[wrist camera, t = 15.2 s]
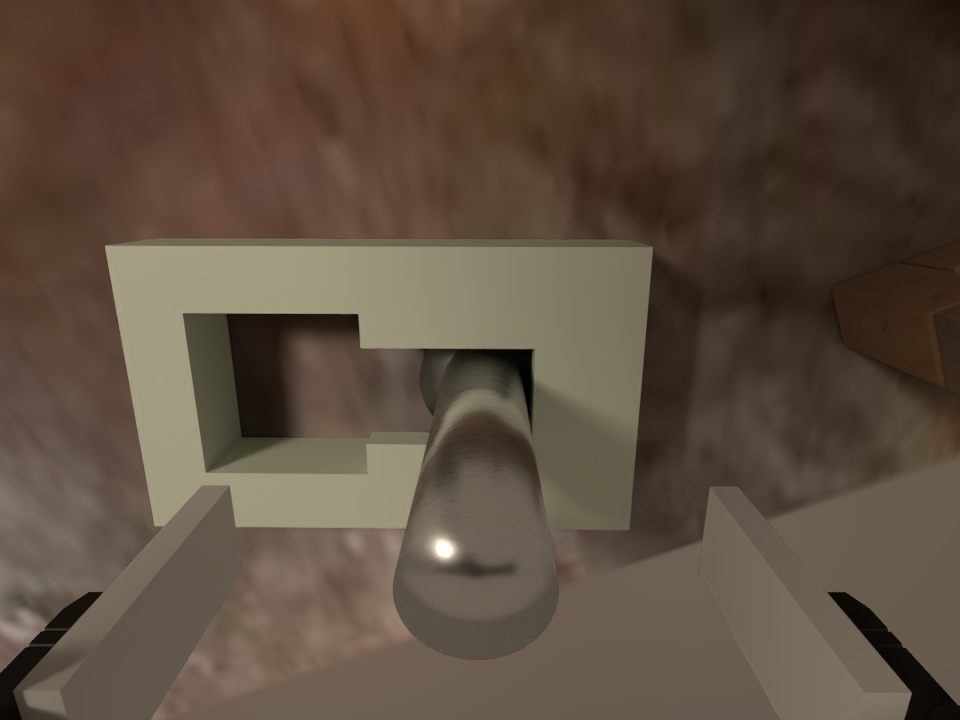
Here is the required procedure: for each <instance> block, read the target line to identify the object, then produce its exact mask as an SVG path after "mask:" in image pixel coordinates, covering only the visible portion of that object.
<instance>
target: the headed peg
mask: <svg viewBox="0 0 960 720" xmlns="http://www.w3.org/2000/svg"><path fill="white" fill-rule="evenodd" d="M531 374H532V349H429V348H428V349H427V351H426V354H425V356H424V359H423V362H422V365H421V371H420V388H421V392H422V396H423V399H424V402H425V404H426V406H427V408H428V409H429V411H430V412H431V414H432V415H433V420H432V424H431V428H430V432H429V436H428V440H427V444H426V448H425V452H424V457H423V461H422V465H421V469H420V473H419V477H418V481H417V485H416V489H415V493H414V497H413V501H412V505H411V510H410V514H409V518H408V522H407V526H406V530H405V534H404V538H403V542H402V546H401V550H400V554H399V559H398V563H397V567H396V571H395V575H394V581H393V596H394V602H395V606H396V609H397V612H398V614H399V616H400V618H401V620H402V621H403V623H404V625H405V626H406V627H407V629H408V630H409V631H410V632H411V633H412V634H413V635H414V636H415V637H416V638H417V639H418V640H420V641H421V642H422V643H424V644H425V645H426V646H428V647H430V648H432V649H434V650H435V651H438V652H440V653H443V654H445V655H448V656H452V657H455V658H461V659H469V660H487V659H493V658H499V657H502V656H506V655H508V654H511V653H514V652H516V651H518V650H520V649H522V648H524V647H526V646H527V645H528V644H530V643H531V642H533V641H534V640H535V639H536V638H537V637H538V636H540V635H541V633H542V632H543V631H544V630H545V629H546V627H547V626H548V624H549V623H550V621H551V620H552V617H553V615H554V613H555V611H556V607H557V603H558V597H559V583H558V578H557V572H556V566H555V561H554V555H553V550H552V544H551V539H550V533H549V528H548V522H547V517H546V511H545V506H544V500H543V495H542V489H541V484H540V478H539V473H538V467H537V462H536V456H535V451H534V445H533V439H532V434H531V428H530V423H529V418H530V410H531Z"/></svg>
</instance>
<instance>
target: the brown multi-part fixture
mask: <svg viewBox="0 0 960 720" xmlns="http://www.w3.org/2000/svg"><path fill="white" fill-rule="evenodd" d="M832 295H833V299H834V304H835V308H836V312H837V317H838V321H839V325H840V330H841V334H842V338H843V342H844V344H845V345H846V347H847V348H850V349H852V350H854V351H857V352H859V353H861V354H864V355H866V356H868V357H871V358H873V359H875V360H878V361H880V362H882V363H885V364H887V365H889V366H892V367H894V368H896V369H899V370H901V371H903V372H906V373H908V374H910V375H913V376H915V377H917V378H920V379H922V380H924V381H927V382H929V383H931V384H934V385H936V386H938V387H944V388H945V387H947V389H948V391H949V392H951V393H953V394H955V395H958V396H960V240H958V241H955V242H952V243H950V244H947V245H944V246H941V247H939V248H936V249H933V250H930V251H928V252H925V253H922V254H919V255H917V256H914V257H911V258H909V259H906V260H905V261H904V262H903V264H902V263H894V264H892V265H889V266H886V267H883V268H881V269H878V270H875V271H873V272H870V273H867V274H864V275H862V276H859V277H856V278H853V279H851V280H848V281H845V282H842V283H840V284H837V285H835V286H834V287H833V288H832Z"/></svg>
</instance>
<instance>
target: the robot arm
mask: <svg viewBox="0 0 960 720" xmlns="http://www.w3.org/2000/svg"><path fill="white" fill-rule="evenodd" d="M241 572H242V567H241V560H240V553H239V546H238V539H237V532H236V525H235V518H234V511H233V504H232V497H231V490H230V485H202V486H201V487H200V488H199V489H198V490H197V491H196V492H195V493H194V495H193V496H192V497H191V498H190V499H189V500H188V501H187V502H186V503H185V504H184V505H183V507H182V508H181V509H180V510H179V511H178V512H177V513H176V514H175V515H174V516H173V517H172V518H171V520H170V521H169V522H168V523H167V524H166V525H165V526H164V527H163V528H162V529H161V530H160V531H159V533H158V534H157V535H156V536H155V537H154V538H153V539H152V540H151V541H150V542H149V543H148V545H147V546H146V547H145V548H144V549H143V550H142V551H141V552H140V553H139V554H138V555H137V556H136V558H135V559H134V560H133V561H132V562H131V563H130V564H129V565H128V566H127V567H126V568H125V569H124V571H123V572H122V573H121V574H120V575H119V576H118V577H117V578H116V579H115V580H114V581H113V583H112V584H111V585H110V586H109V587H108V588H107V589H106V590H105V591H104V592H89V593H87V594H85V595H84V596H82V597H81V598H79V599H78V600H76V601H75V602H73V603H72V604H70V605H68V606H67V607H65V608H64V609H63V610H62V611H61V612H60V613H59V614H58V615H57V616H56V617H55V618H54V619H53V620H52V621H51V622H50V623H49V624H48V625H47V626H46V627H45V631H41V632H40V633H39V634H38V635H37V636H36V637H35V638H34V639H33V640H32V641H31V642H30V645H29V647H26V648H25V649H24V650H23V651H22V652H21V653H20V654H19V655H18V656H17V657H16V658H15V659H14V660H13V661H12V662H11V663H10V664H9V665H8V666H7V667H6V668H5V669H4V670H3V671H2V672H1V673H0V720H151V718H152V716H153V715H154V713H155V712H156V710H157V708H158V707H159V705H160V703H161V702H162V700H163V699H164V697H165V695H166V694H167V692H168V690H169V689H170V687H171V686H172V684H173V682H174V681H175V679H176V677H177V676H178V674H179V673H180V671H181V669H182V668H183V666H184V664H185V663H186V661H187V660H188V658H189V656H190V655H191V653H192V651H193V650H194V648H195V647H196V645H197V643H198V642H199V640H200V638H201V637H202V635H203V634H204V632H205V630H206V629H207V627H208V625H209V624H210V622H211V621H212V619H213V617H214V616H215V614H216V612H217V611H218V609H219V608H220V606H221V604H222V603H223V601H224V599H225V598H226V596H227V595H228V593H229V591H230V590H231V588H232V586H233V585H234V583H235V582H236V580H237V578H238V577H239V575H240V573H241ZM698 572H699V574H700V576H701V578H702V579H703V581H704V583H705V585H706V586H707V588H708V590H709V592H710V594H711V596H712V597H713V599H714V601H715V603H716V604H717V606H718V608H719V610H720V612H721V613H722V615H723V617H724V619H725V621H726V622H727V624H728V626H729V628H730V630H731V631H732V633H733V635H734V637H735V639H736V640H737V642H738V644H739V646H740V648H741V649H742V651H743V653H744V655H745V657H746V658H747V660H748V662H749V664H750V665H751V667H752V669H753V671H754V673H755V674H756V676H757V678H758V680H759V682H760V683H761V685H762V687H763V689H764V690H765V692H766V694H767V696H768V698H769V700H770V701H771V703H772V705H773V707H774V708H775V710H776V712H777V714H778V716H779V717H780V719H781V720H960V706H958V705H957V704H956V703H955V702H954V701H953V699H952V698H951V697H950V696H949V695H948V694H947V693H946V692H945V691H944V690H943V688H942V687H941V686H940V685H939V684H938V683H937V682H936V681H935V680H934V679H933V677H931V675H930V674H929V673H928V672H927V671H926V670H925V669H924V668H923V666H922V665H920V663H919V662H918V661H917V660H916V659H915V658H914V657H913V656H912V654H911V653H910V652H909V651H908V650H907V649H906V648H903V647H902V644H901V642H900V641H899V640H898V639H897V638H896V637H895V636H894V635H893V634H892V633H891V632H888V630H887V627H886V626H885V625H884V624H883V623H882V622H881V620H880V619H879V618H878V617H877V616H876V615H875V614H874V613H873V612H872V611H871V609H869V608H868V607H866V606H865V605H864V604H862V603H861V602H859V601H858V600H856V599H855V598H853V597H852V596H850V595H849V594H847V593H846V592H826V590H825V589H824V588H823V587H822V586H821V585H820V584H819V582H818V581H817V580H816V579H815V577H814V576H813V575H812V574H811V573H810V572H809V570H808V569H807V568H806V567H805V566H804V564H803V563H802V562H801V561H800V560H799V558H798V557H797V556H796V555H795V554H794V553H793V552H792V550H791V549H790V548H789V547H788V545H787V544H786V543H785V542H784V541H783V540H782V538H781V537H780V536H779V535H778V534H777V532H776V531H775V530H774V529H773V528H772V527H771V525H770V524H769V523H768V522H767V521H766V519H765V518H764V517H763V516H762V515H761V513H760V512H759V511H758V510H757V509H756V508H755V506H754V505H753V504H752V503H751V502H750V500H749V499H748V498H747V497H746V496H745V495H744V493H743V492H742V491H741V490H740V489H739V487H712V486H710V488H709V496H708V503H707V511H706V518H705V526H704V533H703V540H702V548H701V555H700V563H699V571H698Z"/></svg>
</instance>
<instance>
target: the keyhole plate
mask: <svg viewBox="0 0 960 720" xmlns="http://www.w3.org/2000/svg"><path fill="white" fill-rule="evenodd" d="M105 249H106V255H107V260H108V266H109V272H110V277H111V283H112V288H113V294H114V300H115V305H116V311H117V317H118V322H119V328H120V333H121V339H122V345H123V350H124V356H125V362H126V367H127V373H128V378H129V384H130V390H131V395H132V401H133V407H134V412H135V418H136V423H137V429H138V435H139V440H140V446H141V452H142V457H143V463H144V468H145V474H146V480H147V485H148V491H149V497H150V502H151V508H152V513H153V519H154V525H155V526H165V525H166V524H167V523H168V522H169V521H170V520H171V518H172V517H173V516H174V515H175V514H176V513H177V512H178V511H179V510H180V509H181V508H182V507H183V505H184V504H185V503H186V502H187V501H188V500H189V499H190V498H191V497H192V496H193V495H194V493H195V492H196V491H197V490H198V489H199V488H200V487H201V486H202V485H230V490H231V497H232V504H233V511H234V518H235V525H236V527H313V528H406V526H407V522H408V518H409V514H410V510H411V505H412V501H413V497H414V493H415V489H416V485H417V481H418V477H419V473H420V469H421V465H422V461H423V457H424V452H425V448H426V444H427V440H428V436H429V432H372V433H371V435H370V437H369V438H261V437H242V435H241V427H240V419H239V411H238V403H237V395H236V387H235V379H234V371H233V363H232V355H231V347H230V339H229V330H228V322H227V314H226V313H253V314H359V331H360V348H429V349H532V374H531V410H530V428H531V434H532V439H533V445H534V451H535V456H536V462H537V467H538V473H539V478H540V484H541V489H542V495H543V500H544V506H545V511H546V517H547V522H548V528H549V530H629V528H630V516H631V504H632V492H633V480H634V468H635V456H636V445H637V433H638V421H639V409H640V397H641V385H642V373H643V361H644V350H645V338H646V326H647V314H648V302H649V290H650V278H651V266H652V255H653V247H651V246H648V245H645V244H642V243H638V242H635V241H632V240H580V239H181V238H158V239H151V240H144V241H136V242H129V243H122V244H114V245H107V246H105Z"/></svg>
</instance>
